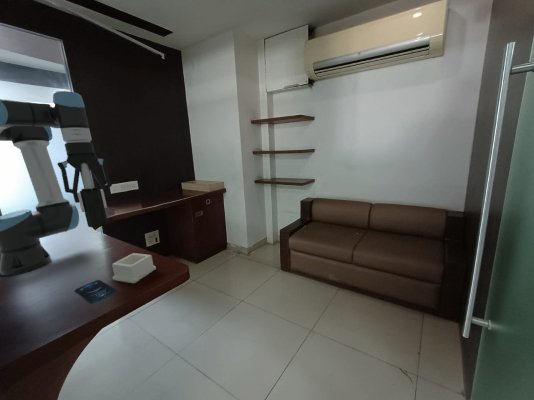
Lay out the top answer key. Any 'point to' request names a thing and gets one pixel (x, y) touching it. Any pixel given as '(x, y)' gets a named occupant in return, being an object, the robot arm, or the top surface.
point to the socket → (133, 268)
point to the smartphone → (95, 291)
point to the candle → (92, 200)
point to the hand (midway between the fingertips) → (94, 209)
